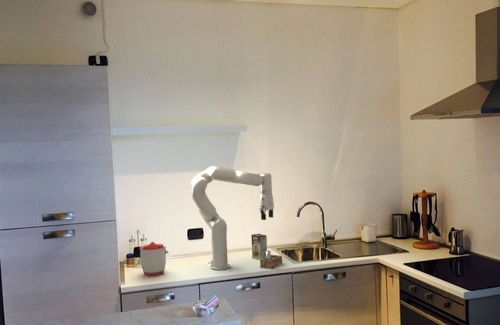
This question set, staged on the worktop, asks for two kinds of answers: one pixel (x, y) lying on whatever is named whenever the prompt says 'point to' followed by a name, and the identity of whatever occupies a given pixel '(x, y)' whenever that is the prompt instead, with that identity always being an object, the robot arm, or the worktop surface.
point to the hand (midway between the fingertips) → (267, 218)
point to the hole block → (271, 262)
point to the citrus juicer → (153, 259)
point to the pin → (268, 255)
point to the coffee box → (259, 246)
